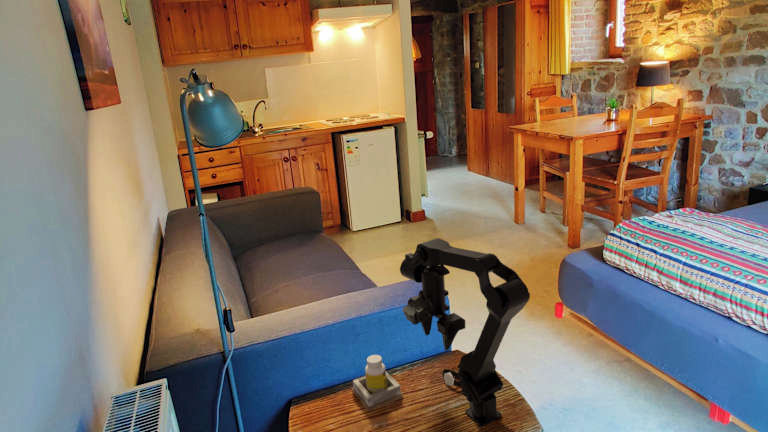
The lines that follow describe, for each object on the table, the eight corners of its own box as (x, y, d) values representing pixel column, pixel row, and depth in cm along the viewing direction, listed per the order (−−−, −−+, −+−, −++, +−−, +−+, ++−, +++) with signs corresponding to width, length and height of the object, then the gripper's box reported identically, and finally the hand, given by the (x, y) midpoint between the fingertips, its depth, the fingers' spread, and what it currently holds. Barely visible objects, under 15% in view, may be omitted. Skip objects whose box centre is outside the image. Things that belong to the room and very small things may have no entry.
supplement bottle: (389, 395, 129) (385, 362, 127) (368, 399, 129) (364, 366, 126) (386, 383, 134) (382, 351, 132) (366, 386, 134) (362, 354, 131)
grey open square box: (402, 397, 130) (401, 385, 129) (368, 411, 125) (367, 399, 125) (384, 378, 138) (383, 367, 137) (352, 391, 134) (351, 380, 133)
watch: (438, 379, 136) (437, 367, 135) (451, 372, 139) (450, 361, 138) (457, 392, 130) (456, 380, 129) (470, 385, 132) (469, 373, 132)
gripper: (388, 284, 130) (393, 336, 135) (426, 310, 114) (430, 368, 119) (424, 273, 135) (427, 324, 139) (465, 296, 119) (468, 354, 123)
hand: (437, 342), depth 130 cm, fingers open, 9 cm apart
